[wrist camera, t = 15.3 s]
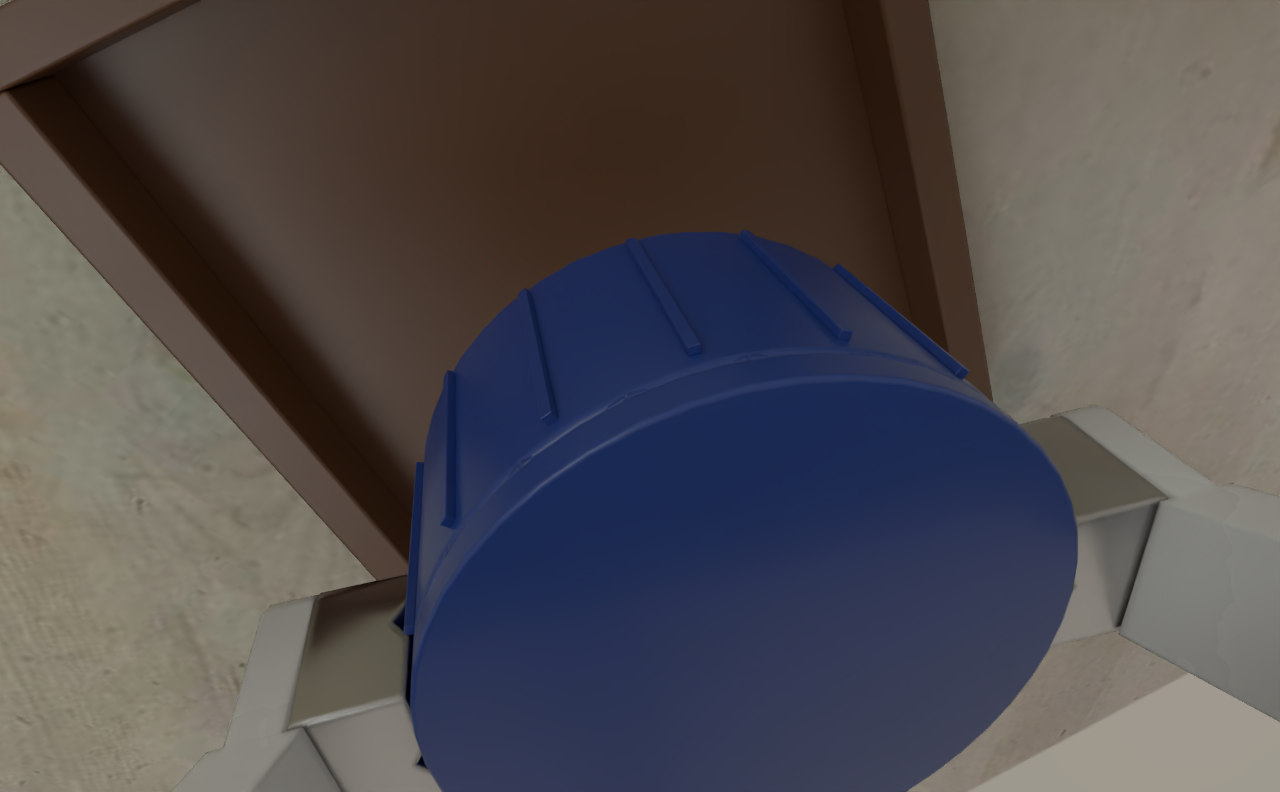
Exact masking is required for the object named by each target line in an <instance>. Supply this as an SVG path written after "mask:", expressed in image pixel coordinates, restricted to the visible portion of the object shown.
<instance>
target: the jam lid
mask: <svg viewBox="0 0 1280 792" xmlns="http://www.w3.org/2000/svg"><path fill="white" fill-rule="evenodd" d="M969 372H970V371H969V370H968V369H967V368H966V367H964V366H963V365H962V364H961V363H960V362H958V361H957V360H956V359H955V358H953V357H952V356H951V355H950V354H949V353H947V352H946V351H945V350H944V349H943V348H941V347H940V346H939V345H938V344H937V343H935V342H934V341H933V340H932V339H931V338H929V337H928V336H927V335H926V334H924V333H923V332H922V331H921V330H920V329H918V328H917V327H916V326H915V325H914V324H912V323H911V322H910V321H909V320H908V319H906V318H905V317H904V316H903V315H902V314H900V313H899V312H898V311H897V310H896V309H894V308H893V307H892V306H891V305H889V304H888V303H887V302H886V301H885V300H883V299H882V298H881V297H880V296H879V295H877V294H876V293H875V292H874V291H873V290H871V289H870V288H869V287H868V286H867V285H865V284H864V283H863V282H862V281H860V280H859V279H858V278H857V277H856V276H854V275H853V274H852V273H851V272H850V271H848V270H847V269H846V268H845V267H844V266H842V265H841V264H839V263H837V264H836V265H835V267H834V268H832V267H830V266H829V265H827V264H826V263H824V262H823V261H821V260H820V259H818V258H816V257H814V256H811V255H809V254H807V253H805V252H802V251H800V250H798V249H796V248H794V247H791V246H789V245H785V244H782V243H778V242H775V241H771V240H768V239H764V238H761V237H757V236H755V235H754V234H753V233H752V232H751V231H747V230H741V232H740V234H734V233H727V232H682V233H675V234H663V235H656V236H652V237H647V238H643V239H639V240H636V238H635V237H634V238H630V239H626V243H624V244H620V245H617V246H613V247H610V248H607V249H605V250H602V251H600V252H597V253H595V254H592V255H590V256H587V257H584V258H581V259H578V260H576V261H575V262H571V263H570V264H568V265H567V266H566V267H564V268H563V269H561V270H559V271H557V272H555V273H554V274H552V275H550V276H548V277H546V278H545V279H543V280H541V281H540V282H538V283H537V284H536V285H534V286H533V287H532V288H530V289H529V290H527V289H526V288H524V289H523V290H522V291H520V292H519V293H518V298H517V299H515V300H514V301H513V302H511V303H510V304H509V305H508V306H507V307H505V308H504V309H502V311H501V312H500V313H498V314H497V315H496V317H495V318H494V319H493V320H492V321H491V322H490V323H489V324H488V325H487V326H486V327H485V328H484V329H483V330H482V331H481V333H480V334H479V335H478V336H477V338H476V339H475V340H474V341H473V343H472V344H471V345H470V346H469V348H468V349H467V350H466V351H465V353H464V354H463V355H462V357H461V358H460V360H459V362H458V363H457V365H456V367H455V368H454V370H453V372H452V371H450V370H447V372H446V373H445V375H444V378H443V390H442V393H441V395H440V398H439V400H438V402H437V405H436V407H435V410H434V412H433V415H432V419H431V423H430V427H429V431H428V436H427V440H426V444H425V456H424V462H416V471H415V485H414V498H413V512H412V525H411V539H410V552H409V566H408V579H407V593H406V606H405V620H404V635H413V634H414V639H413V656H412V673H411V690H410V707H411V714H412V722H413V729H414V735H415V738H416V740H417V743H418V746H419V749H420V752H421V754H422V757H423V760H424V763H425V765H426V767H427V768H428V770H429V771H430V773H431V775H432V776H433V778H434V780H435V781H436V783H437V784H438V786H439V788H440V789H441V791H442V792H906V791H908V790H909V789H911V788H912V787H914V786H915V785H917V784H918V783H920V782H921V781H923V780H924V779H926V778H927V777H929V776H930V775H932V774H933V773H935V772H936V771H937V770H939V769H940V768H941V767H943V766H944V765H945V764H946V763H948V762H949V761H950V760H952V759H953V758H954V757H955V756H957V755H958V754H959V753H961V752H962V751H963V750H964V749H965V748H966V747H968V746H969V745H970V744H971V743H972V742H973V741H974V740H975V739H976V738H977V737H979V736H980V735H981V734H982V733H983V732H984V731H985V730H986V729H987V728H988V727H989V726H990V725H991V724H992V723H993V722H994V721H995V720H996V719H997V718H998V717H999V716H1000V715H1001V714H1002V713H1003V711H1004V710H1005V709H1006V708H1007V707H1008V706H1009V705H1010V704H1011V703H1012V702H1013V700H1014V699H1015V698H1016V696H1017V695H1018V694H1019V693H1020V691H1021V690H1022V689H1023V688H1024V686H1025V685H1026V684H1027V682H1028V681H1029V680H1030V679H1031V677H1032V676H1033V674H1034V673H1035V671H1036V669H1037V668H1038V666H1039V665H1040V663H1041V662H1042V660H1043V658H1044V657H1045V655H1046V654H1047V652H1048V650H1049V649H1050V647H1051V645H1052V642H1053V640H1054V638H1055V636H1056V634H1057V632H1058V630H1059V628H1060V626H1061V624H1062V622H1063V619H1064V616H1065V613H1066V610H1067V607H1068V604H1069V601H1070V598H1071V595H1072V592H1073V586H1074V581H1075V575H1076V569H1077V563H1078V531H1077V525H1076V520H1075V515H1074V510H1073V505H1072V501H1071V498H1070V496H1069V494H1068V491H1067V489H1066V487H1065V484H1064V482H1063V479H1062V477H1061V475H1060V472H1059V470H1058V469H1057V468H1056V466H1055V465H1054V463H1053V462H1052V460H1051V459H1050V457H1049V456H1048V455H1047V453H1046V452H1045V450H1044V449H1043V447H1042V446H1041V445H1040V444H1039V443H1038V442H1037V441H1036V440H1035V439H1034V438H1033V437H1032V436H1031V435H1030V434H1029V433H1027V432H1026V431H1025V430H1024V429H1023V428H1022V427H1021V426H1020V425H1019V424H1018V423H1017V422H1016V421H1015V420H1013V419H1012V418H1011V417H1010V416H1009V415H1007V414H1006V413H1005V412H1004V411H1003V410H1002V409H1000V408H999V407H998V406H997V405H996V404H995V403H993V402H992V401H990V400H989V399H988V398H987V397H986V396H985V395H984V394H983V393H982V392H980V391H979V390H978V389H977V388H976V387H975V386H973V385H972V384H971V383H970V382H969V381H967V380H966V379H965V376H966V375H967V374H968V373H969Z"/></svg>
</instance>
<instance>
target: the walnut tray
mask: <svg viewBox="0 0 1280 792" xmlns="http://www.w3.org/2000/svg"><path fill="white" fill-rule="evenodd" d="M0 164H1V165H2V166H3V168H4V169H5V170H6V171H7V172H8V173H9V174H10V175H11V176H12V178H13V179H14V180H15V181H16V182H17V183H18V184H19V185H20V186H21V187H22V189H23V190H24V191H25V192H26V193H27V194H28V195H29V196H30V197H31V199H32V200H33V201H34V202H35V203H36V204H37V205H38V206H39V207H40V209H41V210H42V211H43V212H44V213H45V214H46V215H47V216H48V217H49V218H50V220H51V221H52V222H53V223H54V224H55V225H56V226H57V227H58V228H59V230H60V231H61V232H62V233H63V234H64V235H65V236H66V237H67V238H68V239H69V241H70V242H71V243H72V244H73V245H74V246H75V247H76V248H77V249H78V251H79V252H80V253H81V254H82V255H83V256H84V257H85V258H86V259H87V260H88V262H89V263H90V264H91V265H92V266H93V267H94V268H95V269H96V270H97V272H98V273H99V274H100V275H101V276H102V277H103V278H104V279H105V280H106V282H107V283H108V284H109V285H110V286H111V287H112V288H113V289H114V290H115V291H116V293H117V294H118V295H119V296H120V297H121V298H122V299H123V300H124V301H125V303H126V304H127V305H128V306H129V307H130V308H131V309H132V310H133V311H134V312H135V314H136V315H137V316H138V317H139V318H140V319H141V320H142V321H143V322H144V324H145V325H146V326H147V327H148V328H149V329H150V330H151V331H152V332H153V333H154V335H155V336H156V337H157V338H158V339H159V340H160V341H161V342H162V343H163V345H164V346H165V347H166V348H167V349H168V350H169V351H170V352H171V353H172V355H173V356H174V357H175V358H176V359H177V360H178V361H179V362H180V363H181V364H182V366H183V367H184V368H185V369H186V370H187V371H188V372H189V373H190V374H191V376H192V377H193V378H194V379H195V380H196V381H197V382H198V383H199V384H200V385H201V387H202V388H203V389H204V390H205V391H206V392H207V393H208V394H209V395H210V397H211V398H212V399H213V400H214V401H215V402H216V403H217V404H218V405H219V407H220V408H221V409H222V410H223V411H224V412H225V413H226V414H227V415H228V416H229V418H230V419H231V420H232V421H233V422H234V423H235V424H236V425H237V426H238V428H239V429H240V430H241V431H242V432H243V433H244V434H245V435H246V436H247V437H248V439H249V440H250V441H251V442H252V443H253V444H254V445H255V446H256V447H257V449H258V450H259V451H260V452H261V453H262V454H263V455H264V456H265V457H266V458H267V460H268V461H269V462H270V463H271V464H272V465H273V466H274V467H275V468H276V470H277V471H278V472H279V473H280V474H281V475H282V476H283V477H284V478H285V480H286V481H287V482H288V483H289V484H290V485H291V486H292V487H293V488H294V489H295V491H296V492H297V493H298V494H299V495H300V496H301V497H302V498H303V499H304V501H305V502H306V503H307V504H308V505H309V506H310V507H311V508H312V509H313V510H314V512H315V513H316V514H317V515H318V516H319V517H320V518H321V519H322V520H323V522H324V523H325V524H326V525H327V526H328V527H329V528H330V529H331V530H332V531H333V533H334V534H335V535H336V536H337V537H338V538H339V539H340V540H341V541H342V543H343V544H344V545H345V546H346V547H347V548H348V549H349V550H350V551H351V553H352V554H353V555H354V556H355V557H356V558H357V559H358V560H359V561H360V562H361V564H362V565H363V566H364V567H365V568H366V569H367V570H368V571H369V572H370V574H371V575H372V576H373V577H374V578H375V579H376V580H377V581H378V580H383V579H387V578H392V577H396V576H401V575H405V574H408V566H409V552H410V539H411V525H412V512H413V498H414V485H415V471H416V462H424V456H425V444H426V440H427V436H428V431H429V427H430V423H431V419H432V415H433V412H434V410H435V407H436V405H437V402H438V400H439V398H440V395H441V393H442V390H443V378H444V375H445V373H446V372H447V370H450V371H452V372H453V370H454V368H455V367H456V365H457V363H458V362H459V360H460V358H461V357H462V355H463V354H464V353H465V351H466V350H467V349H468V348H469V346H470V345H471V344H472V343H473V341H474V340H475V339H476V338H477V336H478V335H479V334H480V333H481V331H482V330H483V329H484V328H485V327H486V326H487V325H488V324H489V323H490V322H491V321H492V320H493V319H494V318H495V317H496V315H497V314H498V313H500V312H501V311H502V309H504V308H505V307H507V306H508V305H509V304H510V303H511V302H513V301H514V300H515V299H517V298H518V293H519V292H520V291H522V290H523V289H524V288H526V289H527V290H529V289H530V288H532V287H533V286H534V285H536V284H537V283H538V282H540V281H541V280H543V279H545V278H546V277H548V276H550V275H552V274H554V273H555V272H557V271H559V270H561V269H563V268H564V267H566V266H567V265H568V264H570V263H571V262H575V261H576V260H578V259H581V258H584V257H587V256H590V255H592V254H595V253H597V252H600V251H602V250H605V249H607V248H610V247H613V246H617V245H620V244H624V243H626V239H630V238H634V237H635V238H636V240H639V239H643V238H647V237H652V236H656V235H663V234H675V233H682V232H727V233H734V234H740V232H741V230H747V231H751V232H752V233H753V234H754V235H755V236H757V237H761V238H764V239H768V240H771V241H775V242H778V243H782V244H785V245H789V246H791V247H794V248H796V249H798V250H800V251H802V252H805V253H807V254H809V255H811V256H814V257H816V258H818V259H820V260H821V261H823V262H824V263H826V264H827V265H829V266H830V267H832V268H834V267H835V265H836V264H837V263H839V264H841V265H842V266H844V267H845V268H846V269H847V270H848V271H850V272H851V273H852V274H853V275H854V276H856V277H857V278H858V279H859V280H860V281H862V282H863V283H864V284H865V285H867V286H868V287H869V288H870V289H871V290H873V291H874V292H875V293H876V294H877V295H879V296H880V297H881V298H882V299H883V300H885V301H886V302H887V303H888V304H889V305H891V306H892V307H893V308H894V309H896V310H897V311H898V312H899V313H900V314H902V315H903V316H904V317H905V318H906V319H908V320H909V321H910V322H911V323H912V324H914V325H915V326H916V327H917V328H918V329H920V330H921V331H922V332H923V333H924V334H926V335H927V336H928V337H929V338H931V339H932V340H933V341H934V342H935V343H937V344H938V345H939V346H940V347H941V348H943V349H944V350H945V351H946V352H947V353H949V354H950V355H951V356H952V357H953V358H955V359H956V360H957V361H958V362H960V363H961V364H962V365H963V366H964V367H966V368H967V369H968V370H969V371H970V372H969V373H968V374H967V375H966V376H965V379H966V380H967V381H969V382H970V383H971V384H972V385H973V386H975V387H976V388H977V389H978V390H979V391H980V392H982V393H983V394H984V395H985V396H986V397H987V398H988V399H989V400H990V401H992V402H993V398H992V392H991V386H990V380H989V374H988V367H987V361H986V355H985V349H984V343H983V336H982V330H981V324H980V318H979V312H978V306H977V299H976V293H975V287H974V281H973V275H972V268H971V262H970V256H969V250H968V244H967V238H966V231H965V225H964V219H963V213H962V207H961V200H960V194H959V188H958V182H957V176H956V170H955V163H954V157H953V151H952V145H951V139H950V132H949V126H948V120H947V114H946V108H945V102H944V95H943V89H942V83H941V77H940V71H939V64H938V58H937V52H936V46H935V40H934V34H933V27H932V21H931V15H930V9H929V3H928V0H13V1H11V2H9V3H7V4H5V5H3V6H1V7H0Z"/></svg>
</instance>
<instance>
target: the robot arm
mask: <svg viewBox="0 0 1280 792" xmlns="http://www.w3.org/2000/svg"><path fill="white" fill-rule="evenodd" d="M1019 425H1020V426H1021V427H1022V428H1023V429H1024V430H1025V431H1026V432H1027V433H1029V434H1030V435H1031V436H1032V437H1033V438H1034V439H1035V440H1036V441H1037V442H1038V443H1039V444H1040V445H1041V446H1042V447H1043V449H1044V450H1045V452H1046V453H1047V455H1048V456H1049V457H1050V459H1051V460H1052V462H1053V463H1054V465H1055V466H1056V468H1057V469H1058V470H1059V472H1060V475H1061V477H1062V479H1063V482H1064V484H1065V487H1066V489H1067V491H1068V494H1069V496H1070V498H1071V501H1072V505H1073V510H1074V515H1075V520H1076V525H1077V531H1078V563H1077V569H1076V575H1075V581H1074V586H1073V592H1072V595H1071V598H1070V601H1069V604H1068V607H1067V610H1066V613H1065V616H1064V619H1063V622H1062V624H1061V626H1060V628H1059V630H1058V632H1057V634H1056V636H1055V638H1054V640H1053V642H1052V645H1051V647H1054V646H1058V645H1062V644H1066V643H1070V642H1074V641H1078V640H1082V639H1086V638H1090V637H1094V636H1098V635H1102V634H1106V633H1110V632H1114V631H1118V630H1120V631H1119V635H1121V636H1123V637H1124V638H1126V639H1128V640H1130V641H1132V642H1134V643H1135V644H1137V645H1139V646H1141V647H1143V648H1145V649H1147V650H1148V651H1150V652H1152V653H1154V654H1156V655H1158V656H1159V657H1161V658H1163V659H1165V660H1167V661H1169V662H1170V663H1172V664H1174V665H1176V666H1178V667H1180V668H1181V669H1183V670H1185V671H1187V672H1189V673H1191V674H1193V675H1194V676H1196V677H1198V678H1200V679H1202V680H1204V681H1205V682H1208V683H1209V684H1211V685H1213V686H1215V687H1216V688H1218V689H1220V690H1222V691H1224V692H1226V693H1228V694H1230V695H1232V696H1233V697H1235V698H1237V699H1239V700H1240V701H1242V702H1244V703H1246V704H1248V705H1250V706H1252V707H1254V708H1255V709H1257V710H1259V711H1261V712H1263V713H1265V714H1266V715H1268V716H1270V717H1272V718H1274V719H1276V720H1277V721H1279V722H1280V497H1279V496H1275V495H1271V494H1268V493H1264V492H1261V491H1257V490H1254V489H1250V488H1247V487H1243V486H1240V485H1236V484H1233V483H1231V484H1227V485H1223V486H1217V485H1216V484H1215V483H1213V482H1212V481H1210V480H1209V479H1207V478H1206V477H1205V476H1203V475H1202V474H1200V473H1199V472H1198V471H1196V470H1195V469H1193V468H1192V467H1190V466H1189V465H1188V464H1186V463H1185V462H1183V461H1182V460H1180V459H1179V458H1178V457H1176V456H1175V455H1173V454H1172V453H1170V452H1169V451H1168V450H1166V449H1165V448H1163V447H1162V446H1160V445H1159V444H1158V443H1156V442H1155V441H1153V440H1152V439H1151V438H1149V437H1148V436H1146V435H1145V434H1143V433H1142V432H1141V431H1139V430H1138V429H1136V428H1135V427H1133V426H1132V425H1131V424H1129V423H1128V422H1126V421H1125V420H1123V419H1122V418H1121V417H1119V416H1118V415H1116V414H1115V413H1113V412H1112V411H1111V410H1109V409H1107V408H1104V407H1100V406H1096V405H1089V406H1085V407H1082V408H1078V409H1074V410H1070V411H1066V412H1063V413H1059V414H1055V415H1052V416H1050V417H1049V418H1042V419H1038V420H1034V421H1030V422H1027V423H1023V424H1019ZM407 579H408V574H405V575H401V576H396V577H392V578H387V579H383V580H378V581H373V582H369V583H364V584H360V585H355V586H351V587H346V588H342V589H337V590H333V591H328V592H324V593H321V594H320V595H315V596H310V597H305V598H301V599H296V600H292V601H287V602H283V603H278V604H274V605H270V606H269V608H268V609H267V610H266V611H265V612H264V613H263V615H262V616H261V618H260V621H259V624H258V628H257V631H256V635H255V638H254V641H253V645H252V648H251V652H250V655H249V659H248V662H247V666H246V669H245V673H244V676H243V680H242V683H241V687H240V690H239V694H238V697H237V701H236V704H235V708H234V711H233V715H232V718H231V722H230V725H229V729H228V732H227V736H226V739H225V742H224V746H223V748H221V749H218V750H214V751H211V752H207V753H206V754H205V755H204V756H203V757H202V758H201V759H200V760H199V761H198V762H197V763H196V765H195V766H194V767H193V768H192V769H191V770H190V771H189V772H188V773H187V775H186V776H185V777H184V778H183V779H182V780H181V781H180V782H179V783H178V784H177V786H176V787H175V788H174V789H173V790H172V791H171V792H442V791H441V789H440V788H439V786H438V784H437V783H436V781H435V780H434V778H433V776H432V775H431V773H430V771H429V770H428V768H427V767H426V765H425V763H424V760H423V757H422V754H421V752H420V749H419V746H418V743H417V740H416V738H415V735H414V729H413V722H412V714H411V707H410V690H411V673H412V656H413V639H414V634H413V635H404V620H405V606H406V593H407Z"/></svg>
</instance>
